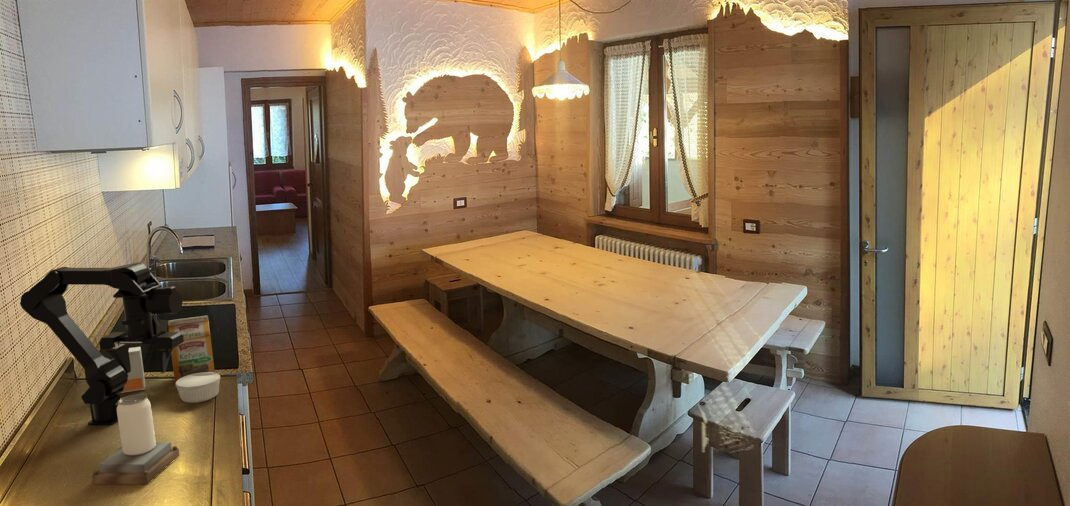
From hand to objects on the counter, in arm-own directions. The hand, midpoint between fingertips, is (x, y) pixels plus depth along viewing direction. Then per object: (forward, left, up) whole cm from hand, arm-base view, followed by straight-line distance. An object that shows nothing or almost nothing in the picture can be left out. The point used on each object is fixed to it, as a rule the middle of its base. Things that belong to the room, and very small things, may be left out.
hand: (146, 372), depth 171 cm
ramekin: (+4, +15, -13) cm, 21 cm away
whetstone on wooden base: (+12, -25, -13) cm, 31 cm away
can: (+12, -24, -9) cm, 28 cm away
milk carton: (-4, +28, -13) cm, 31 cm away
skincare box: (-18, +20, -13) cm, 30 cm away
